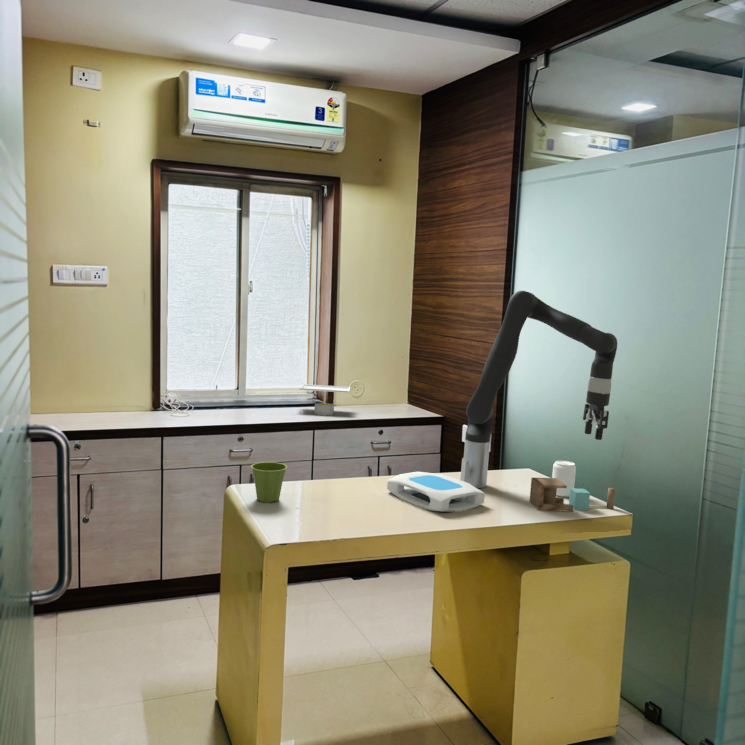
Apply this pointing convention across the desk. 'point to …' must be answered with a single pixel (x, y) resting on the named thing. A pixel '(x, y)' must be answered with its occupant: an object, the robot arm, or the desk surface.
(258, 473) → the plant pot
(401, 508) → the desk surface
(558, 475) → the beverage can
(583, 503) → the tethered block
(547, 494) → the walnut cubby
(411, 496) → the aerobic step platform
